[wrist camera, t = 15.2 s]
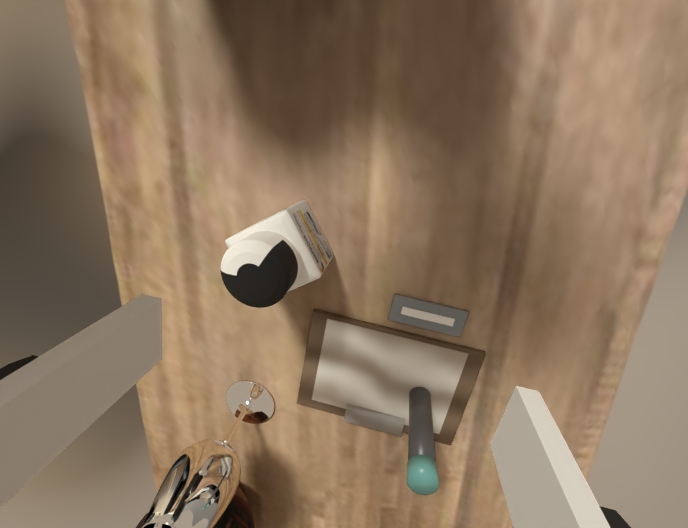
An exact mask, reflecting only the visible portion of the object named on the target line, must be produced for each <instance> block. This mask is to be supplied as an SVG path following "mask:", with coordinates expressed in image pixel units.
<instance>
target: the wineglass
mask: <svg viewBox="0 0 688 528" xmlns="http://www.w3.org/2000/svg"><path fill="white" fill-rule="evenodd" d="M226 403H227V406H228V408H229V410H230V411H231V412H232V413H233V414H234V415H235V416H236V417H237V420H236V422H235V423H234V425H233V427H232V428H231V430H230V431H229V433H228V434H227V436H226V437H225V438H224V440H223V441H221V440H217V439H205V440H202V441H199V442H196V443H194V444H192V445H191V446H189V447H188V448H187V449H185V450H184V451H183V452H182V453H181V454H180V455H179V457H178V458H177V459H176V460H175V462H174V463H173V465H172V467H171V468H170V470H169V471H168V473H167V475H166V477H165V479H164V480H163V482H162V484H161V487H160V489H159V491H158V493H157V495H156V497H155V499H154V501H153V503H152V505H151V508H150V510H149V512H148V515H147V517H146V519H145V521H144V524H143V526H142V528H214V526H215V525H216V523H217V522H218V521H219V519H220V518H221V516H222V515H223V513H224V512H225V510H226V509H227V507H228V506H229V504H230V502H231V500H232V499H233V497H234V495H235V493H236V490H237V488H238V485H239V482H240V475H241V467H240V461H239V458H238V456H237V454H236V452H235V451H234V449H233V448H232V447H231V446H230V445H229V444H230V441H231V439H232V437H233V435H234V433H235V432H236V430H237V428H238V427H239V425H240V423H241V421H245V422H248V423H262V422H265V421H267V420H268V419H269V418H270V417H271V416H272V414H273V412H274V408H275V407H274V400H273V398H272V396H271V394H270V393H269V391H268V390H267V389H265V388H264V387H263V386H261V385H260V384H258V383H256V382H252V381H238V382H236V383H234V384H232V385H231V386H230V387H229V388H228V390H227V392H226Z"/></svg>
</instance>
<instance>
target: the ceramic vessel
mask: <svg viewBox="0 0 688 528" xmlns="http://www.w3.org/2000/svg"><path fill="white" fill-rule="evenodd" d="M147 515H148V513H147V514H146V515H145V516H144V518H143V519H142V520H141V521H140V522H139V524H138V525H137V527H136V528H142V526H143V524H144V521H145V519H146V517H147ZM214 528H254V522H253V516H252V512H251V508H250V505H249V503H248V500H247V499H246V497H245V495H244V493H243V491H242V490H241V489H240V487H239V486H238V488H237V490H236V493H235V495H234V497H233V499H232V500H231V502H230V504H229V506H228V507H227V509H226V510H225V512H224V513H223V515H222V516H221V518H220V519H219V521H218V522H217V523H216V525H215V526H214Z"/></svg>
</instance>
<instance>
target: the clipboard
mask: <svg viewBox="0 0 688 528" xmlns="http://www.w3.org/2000/svg"><path fill="white" fill-rule="evenodd" d="M485 355H486V353H485V351H482V350H477V349H473V348H469V347H465V346H461V345H457V344H453V343H449V342H445V341H441V340H437V339H433V338H429V337H425V336H421V335H417V334H413V333H409V332H405V331H401V330H396V329H392V328H388V327H384V326H380V325H376V324H372V323H368V322H364V321H360V320H356V319H352V318H348V317H344V316H340V315H336V314H332V313H328V312H324V311H320V310H316V309H314V311H313V315H312V321H311V326H310V332H309V338H308V343H307V349H306V355H305V360H304V366H303V372H302V377H301V383H300V388H299V394H298V400H297V404H301V405H305V406H308V407H312V408H316V409H319V410H323V411H327V412H330V413H334V414H338V415H341V416H344V421H345V422H349V423H353V424H356V425H360V426H364V427H367V428H371V429H375V430H378V431H382V432H386V433H389V434H393V435H397V436H400V437H401V433H402V432H404V433H408V434H409V393H410V391H411V389H413V388H415V387H424V388H426V389H427V390H428V391H429V392H430V394H431V405H432V418H433V431H434V441H437V442H441V443H444V444H448V445H451V443H452V440H453V438H454V435H455V433H456V430H457V427H458V425H459V422H460V420H461V417H462V414H463V412H464V409H465V407H466V404H467V401H468V399H469V396H470V394H471V391H472V388H473V386H474V383H475V381H476V378H477V375H478V373H479V370H480V368H481V365H482V362H483V360H484V357H485Z"/></svg>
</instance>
